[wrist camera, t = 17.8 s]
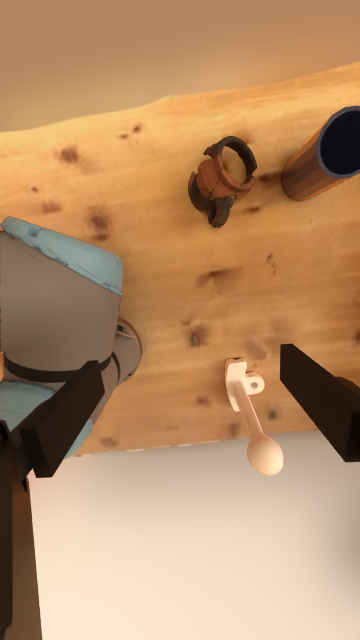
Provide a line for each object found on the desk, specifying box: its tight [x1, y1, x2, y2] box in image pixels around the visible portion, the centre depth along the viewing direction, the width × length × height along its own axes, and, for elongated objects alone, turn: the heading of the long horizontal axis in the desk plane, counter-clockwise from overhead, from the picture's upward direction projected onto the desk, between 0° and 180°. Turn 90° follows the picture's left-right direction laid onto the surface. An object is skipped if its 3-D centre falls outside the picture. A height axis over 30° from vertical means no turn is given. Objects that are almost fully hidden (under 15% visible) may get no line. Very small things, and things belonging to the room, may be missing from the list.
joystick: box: [224, 358, 283, 476], centre depth 35 cm, size 11×8×20 cm
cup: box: [281, 106, 360, 201], centre depth 30 cm, size 7×7×10 cm
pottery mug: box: [188, 136, 257, 228], centre depth 34 cm, size 12×10×8 cm
